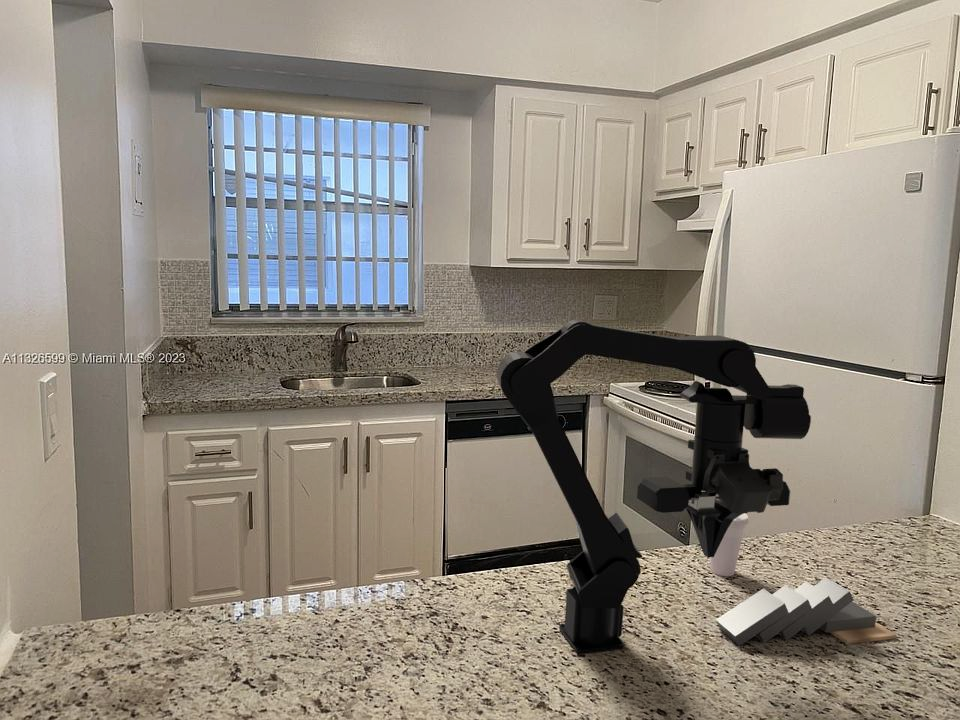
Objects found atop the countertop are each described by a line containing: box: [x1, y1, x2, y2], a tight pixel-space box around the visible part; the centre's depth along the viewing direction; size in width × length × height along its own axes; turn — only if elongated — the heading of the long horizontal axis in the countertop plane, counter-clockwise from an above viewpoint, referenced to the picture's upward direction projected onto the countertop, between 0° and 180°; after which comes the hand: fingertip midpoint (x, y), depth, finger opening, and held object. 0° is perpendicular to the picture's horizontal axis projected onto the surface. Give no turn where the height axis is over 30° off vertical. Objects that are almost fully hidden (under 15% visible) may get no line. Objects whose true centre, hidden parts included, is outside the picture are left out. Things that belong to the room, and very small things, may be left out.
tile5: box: [818, 601, 877, 633], centre depth 100 cm, size 2×4×8 cm
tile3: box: [777, 581, 833, 641], centre depth 98 cm, size 2×4×8 cm
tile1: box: [715, 588, 789, 646], centre depth 96 cm, size 2×4×8 cm
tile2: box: [754, 584, 812, 644], centre depth 97 cm, size 2×4×8 cm
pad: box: [829, 621, 897, 645], centre depth 100 cm, size 8×9×1 cm
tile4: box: [800, 577, 855, 637], centre depth 99 cm, size 2×4×8 cm
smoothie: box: [709, 513, 749, 577], centre depth 116 cm, size 6×6×14 cm
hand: (708, 556), depth 93 cm, fingers closed
